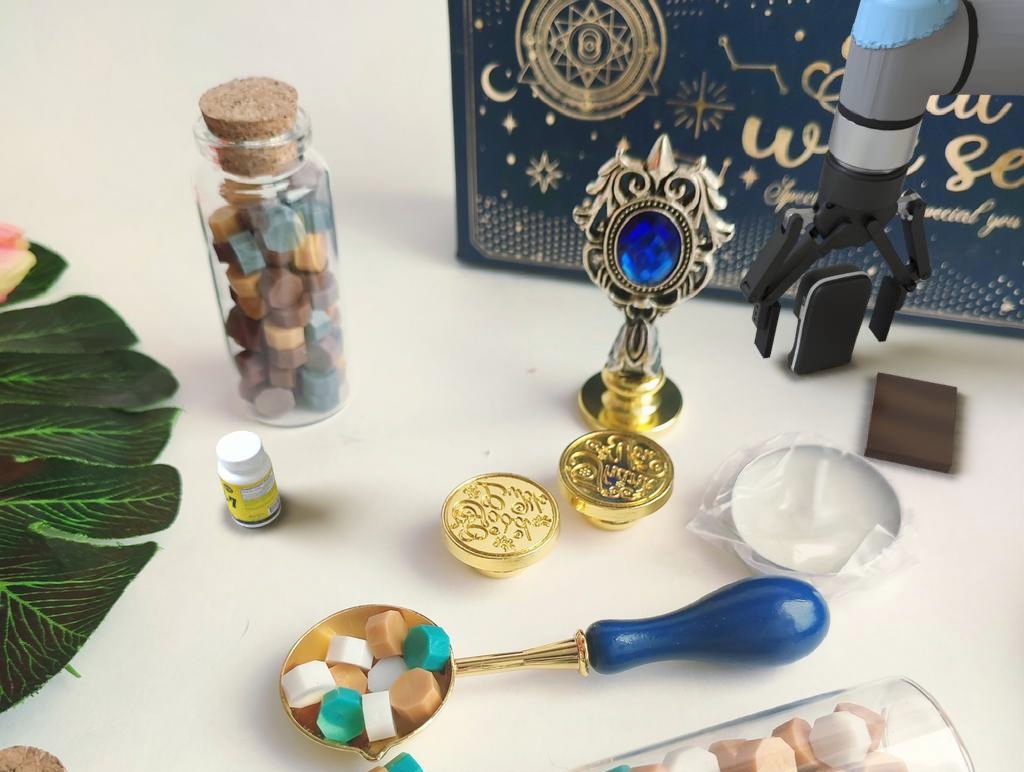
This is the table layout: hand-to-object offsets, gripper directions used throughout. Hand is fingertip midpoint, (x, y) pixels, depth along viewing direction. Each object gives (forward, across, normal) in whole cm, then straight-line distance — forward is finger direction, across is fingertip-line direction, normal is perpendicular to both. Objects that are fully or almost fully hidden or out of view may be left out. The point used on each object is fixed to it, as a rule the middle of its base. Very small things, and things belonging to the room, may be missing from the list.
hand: (819, 342), depth 114 cm
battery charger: (+2, 0, 0) cm, 2 cm away
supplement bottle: (+2, +60, +10) cm, 61 cm away
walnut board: (+2, -5, +12) cm, 13 cm away
